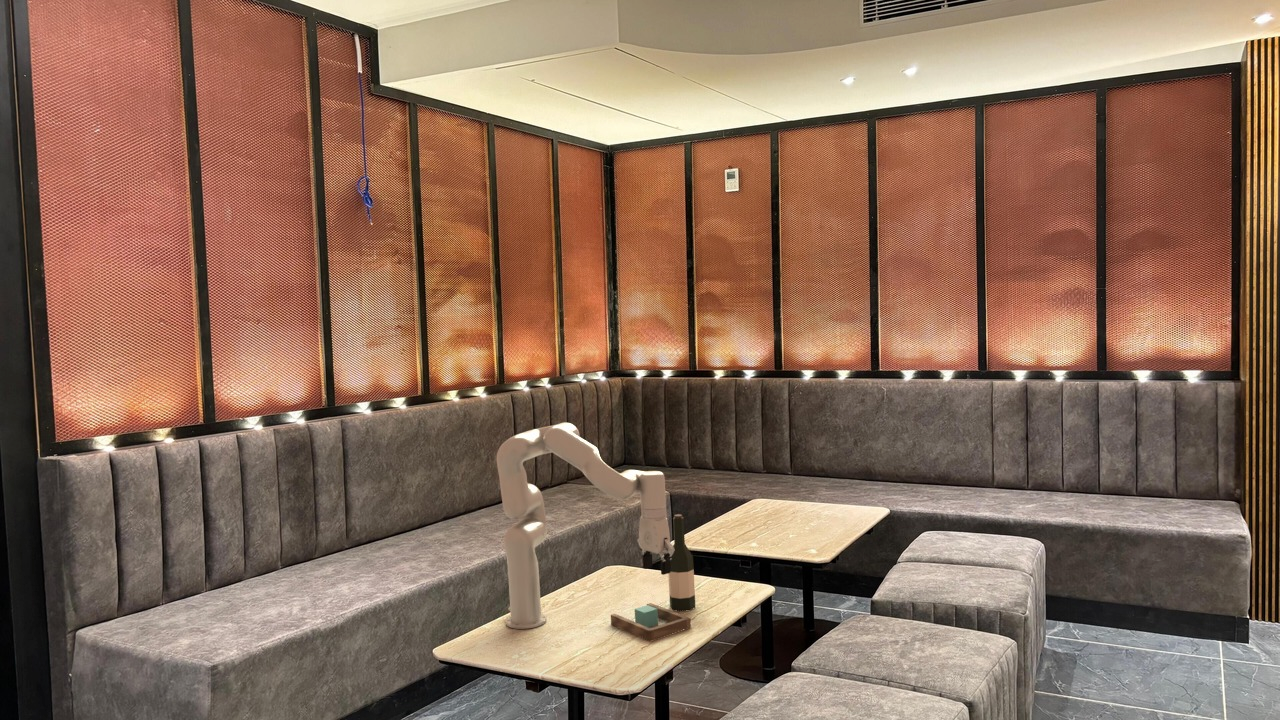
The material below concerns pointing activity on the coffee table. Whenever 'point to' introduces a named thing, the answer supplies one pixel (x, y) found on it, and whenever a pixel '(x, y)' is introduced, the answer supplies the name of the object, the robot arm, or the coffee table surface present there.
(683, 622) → the frame
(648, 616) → the teal block
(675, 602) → the wine bottle
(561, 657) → the coffee table surface
